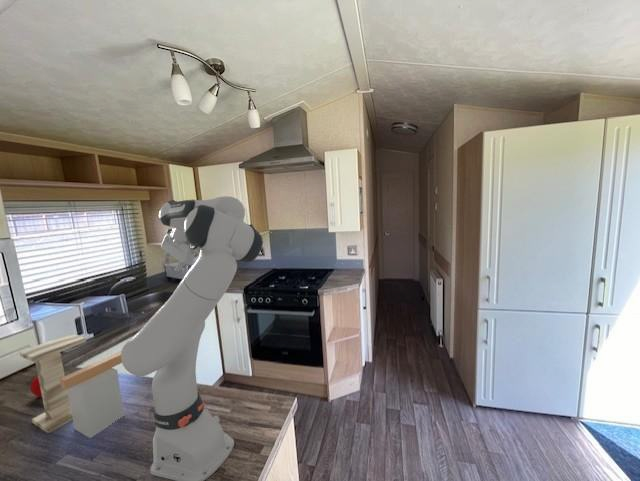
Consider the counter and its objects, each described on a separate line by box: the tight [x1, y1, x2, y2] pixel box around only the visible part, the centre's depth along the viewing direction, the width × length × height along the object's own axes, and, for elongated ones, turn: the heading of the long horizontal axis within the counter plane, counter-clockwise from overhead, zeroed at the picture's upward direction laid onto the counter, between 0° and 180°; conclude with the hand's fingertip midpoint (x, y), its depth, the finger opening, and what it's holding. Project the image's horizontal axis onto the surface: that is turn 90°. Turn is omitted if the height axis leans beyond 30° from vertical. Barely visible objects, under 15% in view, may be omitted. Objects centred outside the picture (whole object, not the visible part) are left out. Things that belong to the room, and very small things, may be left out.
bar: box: [60, 350, 122, 390], centre depth 93 cm, size 3×20×3 cm, turn 154°
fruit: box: [29, 375, 42, 398], centre depth 110 cm, size 9×9×10 cm
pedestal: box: [67, 367, 125, 439], centre depth 91 cm, size 10×10×17 cm
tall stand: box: [19, 333, 87, 434], centre depth 96 cm, size 12×14×26 cm
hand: (170, 266), depth 115 cm, fingers open, 8 cm apart
